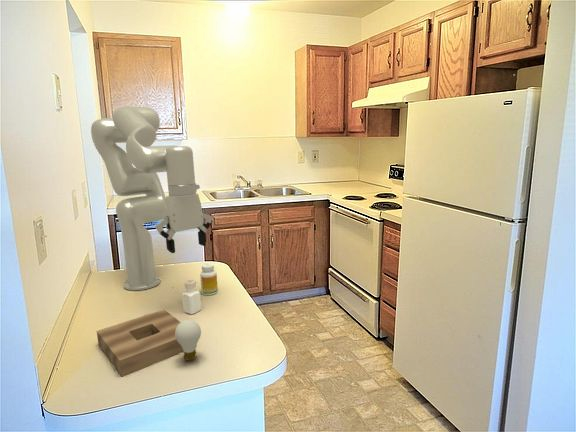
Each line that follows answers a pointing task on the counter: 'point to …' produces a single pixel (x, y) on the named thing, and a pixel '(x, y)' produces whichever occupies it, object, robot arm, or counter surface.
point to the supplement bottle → (208, 280)
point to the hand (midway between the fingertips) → (187, 248)
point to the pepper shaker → (191, 298)
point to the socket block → (140, 341)
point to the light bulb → (188, 337)
